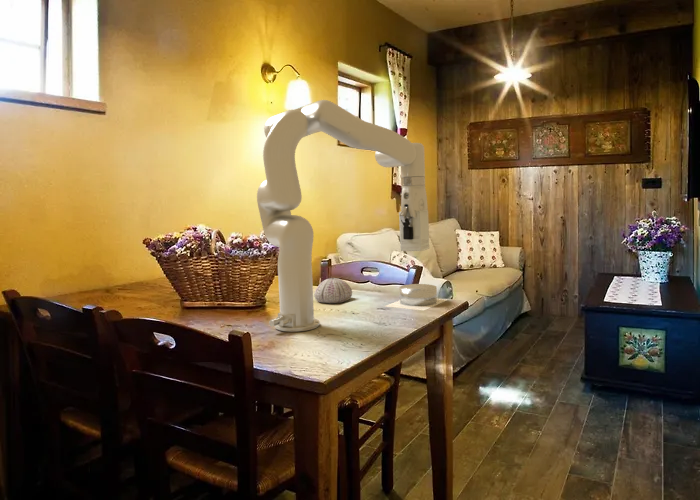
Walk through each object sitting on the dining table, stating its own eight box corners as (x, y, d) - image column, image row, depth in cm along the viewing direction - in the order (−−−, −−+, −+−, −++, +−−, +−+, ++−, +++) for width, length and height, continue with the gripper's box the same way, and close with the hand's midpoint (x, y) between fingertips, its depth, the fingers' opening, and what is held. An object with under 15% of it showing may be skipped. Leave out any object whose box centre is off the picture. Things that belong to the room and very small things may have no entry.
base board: (424, 313, 163) (423, 310, 163) (384, 309, 171) (384, 306, 170) (448, 302, 178) (448, 299, 177) (410, 298, 185) (410, 296, 185)
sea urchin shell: (342, 306, 178) (341, 282, 177) (306, 303, 184) (305, 280, 183) (358, 298, 190) (358, 276, 189) (325, 296, 196) (324, 274, 195)
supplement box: (430, 248, 173) (429, 209, 172) (420, 251, 167) (420, 211, 166) (409, 248, 177) (408, 210, 176) (399, 251, 171) (398, 211, 169)
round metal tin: (426, 307, 167) (426, 291, 166) (393, 304, 173) (392, 288, 173) (442, 300, 176) (442, 285, 176) (410, 297, 183) (410, 283, 183)
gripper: (410, 182, 160) (412, 241, 162) (435, 182, 175) (436, 235, 177) (389, 183, 165) (390, 240, 167) (415, 182, 179) (416, 235, 181)
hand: (414, 237), depth 172 cm, fingers closed on supplement box, 7 cm apart
